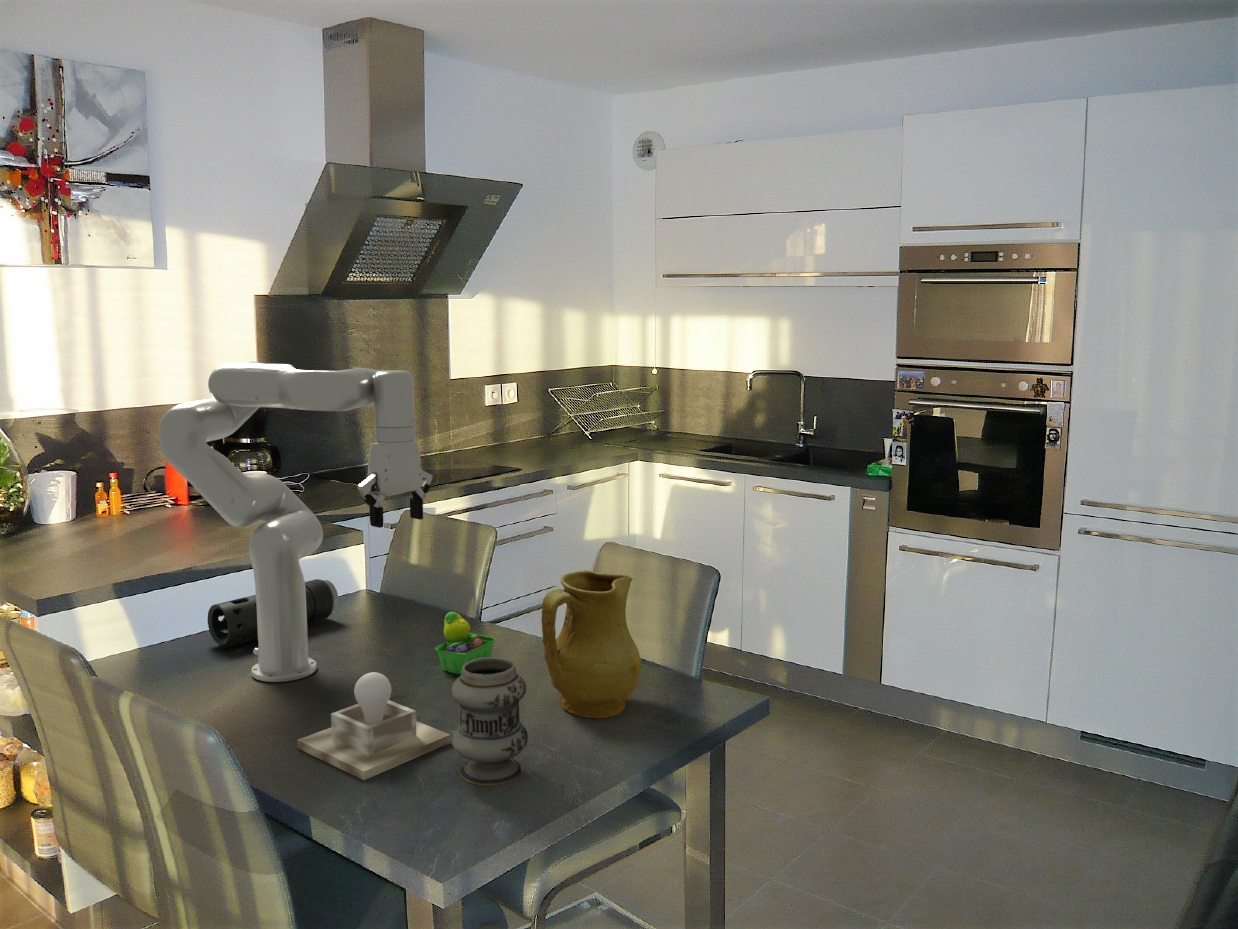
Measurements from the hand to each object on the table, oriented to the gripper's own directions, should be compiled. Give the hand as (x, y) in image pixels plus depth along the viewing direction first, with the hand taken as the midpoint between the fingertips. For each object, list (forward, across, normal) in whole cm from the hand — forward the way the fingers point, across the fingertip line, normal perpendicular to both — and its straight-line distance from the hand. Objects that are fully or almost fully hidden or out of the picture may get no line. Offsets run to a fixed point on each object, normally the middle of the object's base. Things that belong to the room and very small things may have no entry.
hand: (397, 522), depth 197 cm
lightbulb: (+31, +22, +20) cm, 43 cm away
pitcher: (+32, -15, +37) cm, 51 cm away
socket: (+32, +22, +20) cm, 44 cm away
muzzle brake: (+33, -1, -44) cm, 55 cm away
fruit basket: (+33, -14, +3) cm, 36 cm away
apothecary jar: (+32, +16, +42) cm, 55 cm away
